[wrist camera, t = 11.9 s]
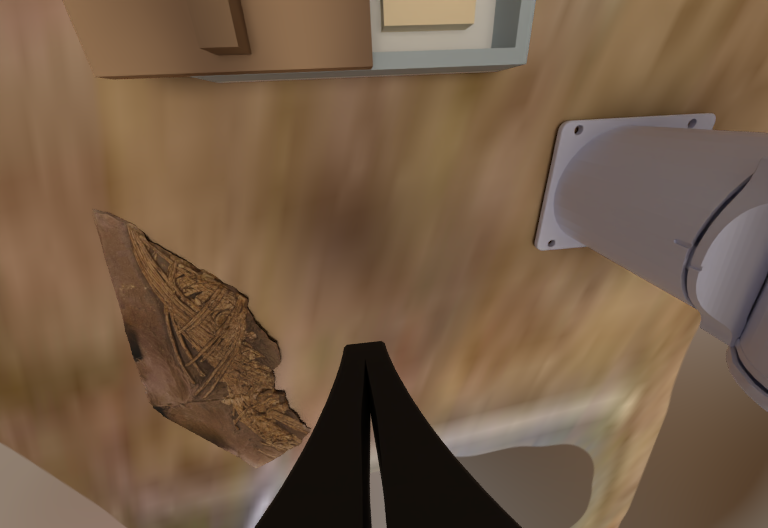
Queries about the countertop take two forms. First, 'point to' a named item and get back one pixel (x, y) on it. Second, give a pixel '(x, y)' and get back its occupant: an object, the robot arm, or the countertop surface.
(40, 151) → the countertop surface
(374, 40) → the gray box
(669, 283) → the robot arm
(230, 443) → the wooden fragment
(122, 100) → the countertop surface
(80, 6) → the lid
